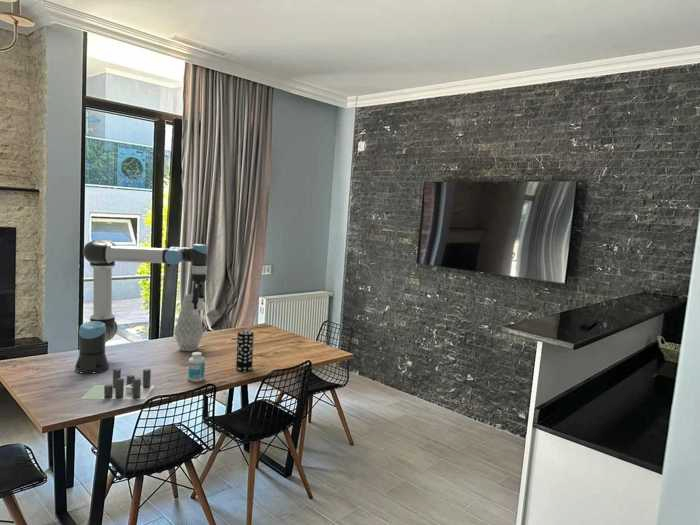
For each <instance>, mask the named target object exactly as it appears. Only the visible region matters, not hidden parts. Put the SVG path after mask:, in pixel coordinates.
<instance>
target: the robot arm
mask: <svg viewBox="0 0 700 525" xmlns="http://www.w3.org/2000/svg"><path fill="white" fill-rule="evenodd" d="M82 253H83V256H84V258H85V260H86V261H88V262H89V266H90V267H91V268H92V269H93V271H92V272H93V276H92V277H93V287H92V288H93V295H92V296H93V302H92V304H93V313H92V315H91V316H89V317H90V318H89V320H90V321H88V322H87V321H86V322H83V323H82V324H81V325H80V326H79V331H78V338H79V339H78V340H79V341H78V342H79V343H78V347H79V348H78V352H79V354H78V357H77V360H76V364H75V366H74V371H75V370H76V371H78V372H82V373H93V372H99V373H102V372H101V371H103V372H106V371H108V370H109V369H108V368H109V367H110V364H109V361H108V357H107V355H106V343H108V341H111V340H112V339H113V338H114V337H115V336H116V334H117V332H118V328H119V327H118V324H117V321H115V320H116V319H115V318H116V316H115V314H113V313H112V310H113V309H112V306H113V305H112V303H113V302H112V300H113V299H112V295H113V294H112V290H113V288H112V285H113V284H112V283H113V281H112V280H113V278H112V277H113V276H112V272H113V271H112V269H113V268H114V267H115V266H116V264H115V263H116V262H123V263H145V264H146V263H147V264H148V263H149V264H169V265H172V266H175V265H178V264H180V263H181V262H183V263H184V262H188V263H191V273H192V274H191V281H192V282H195V283H193V291H192V292H193V293H192V294H193V300H192V301H191V303H193V315H198V312H199V311H203V310H204V299H205V291H204V282H206V280H207V270H208V269H209V268H208V267H207V264H208V246H207V245H206V244H201V243H194V244H192V247H183V246H182V247H181V246H170V247H169V248H162V247H159V248H158V247H139V246H118V245H117V244H116V243H115V242H113V241H112V240H110V239H108V238H107V239H105V238H100V239H96V240H91V241H88V242H87V243H86V244H85V245H84V247H83V252H82ZM107 369H108V370H107ZM105 370H106V371H105ZM76 371H75V372H76ZM78 372H77V373H78ZM82 373H81V374H82ZM93 374H94V373H93Z"/></svg>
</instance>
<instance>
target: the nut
mask: <svg viewBox="0 0 700 525" xmlns="http://www.w3.org/2000/svg"><path fill="white" fill-rule="evenodd" d="M126 385H127V384H126ZM132 391H133V384H128V385H127V387H126V393H127V394H131V395H132Z"/></svg>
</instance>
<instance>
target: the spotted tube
mask: <svg viewBox="0 0 700 525" xmlns="http://www.w3.org/2000/svg"><path fill="white" fill-rule="evenodd" d="M236 342H237V343H236V361H235V362H236V365H235V370H236V371H237V372H239V373H249V371H250V372H252V371H253V358H254V357H253V356H254V331H251V330H250V331H249V330H242V331H238V332H237V339H236Z"/></svg>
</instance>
